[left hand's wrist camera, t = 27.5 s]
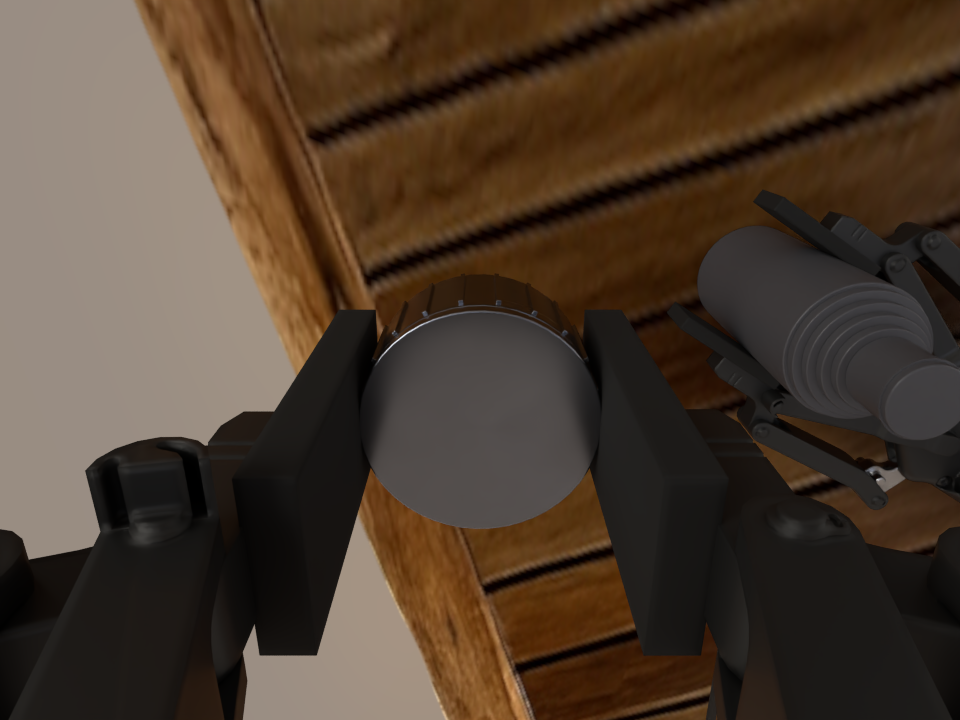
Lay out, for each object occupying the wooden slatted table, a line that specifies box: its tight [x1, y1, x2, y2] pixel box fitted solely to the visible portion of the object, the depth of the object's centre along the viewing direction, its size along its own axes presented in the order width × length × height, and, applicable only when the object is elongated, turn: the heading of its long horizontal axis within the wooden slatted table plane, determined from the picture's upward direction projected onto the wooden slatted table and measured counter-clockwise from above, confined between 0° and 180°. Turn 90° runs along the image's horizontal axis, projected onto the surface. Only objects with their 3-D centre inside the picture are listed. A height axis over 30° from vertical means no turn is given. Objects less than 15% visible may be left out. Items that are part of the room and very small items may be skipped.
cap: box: [359, 274, 602, 529], centre depth 13 cm, size 4×4×2 cm
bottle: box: [697, 226, 960, 440], centre depth 34 cm, size 6×6×18 cm
